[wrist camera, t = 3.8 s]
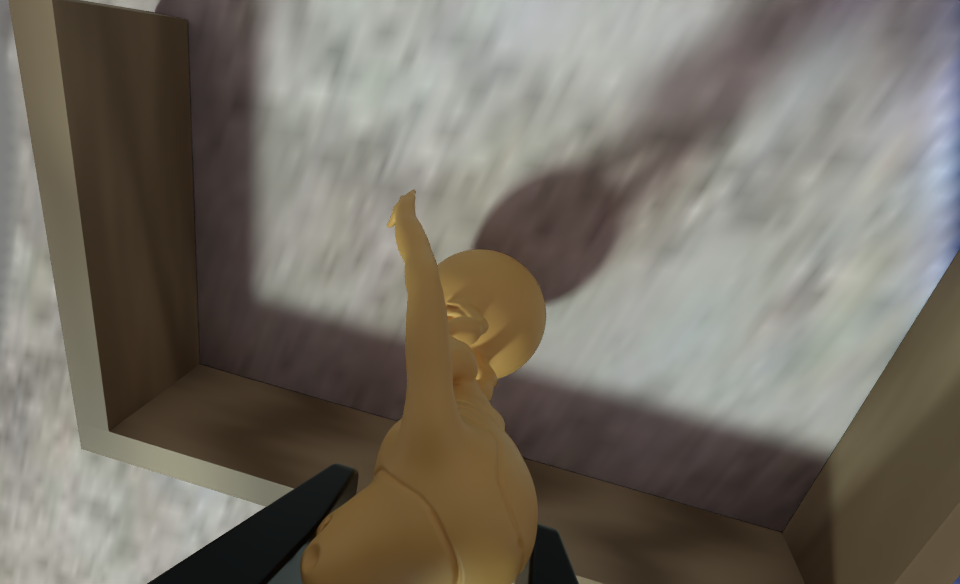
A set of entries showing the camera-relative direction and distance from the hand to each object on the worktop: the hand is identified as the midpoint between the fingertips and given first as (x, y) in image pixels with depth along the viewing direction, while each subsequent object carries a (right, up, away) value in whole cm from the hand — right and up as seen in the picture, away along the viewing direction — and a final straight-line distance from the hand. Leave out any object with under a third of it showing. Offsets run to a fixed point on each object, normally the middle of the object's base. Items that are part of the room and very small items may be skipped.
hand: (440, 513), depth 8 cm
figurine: (+2, +4, +9) cm, 10 cm away
